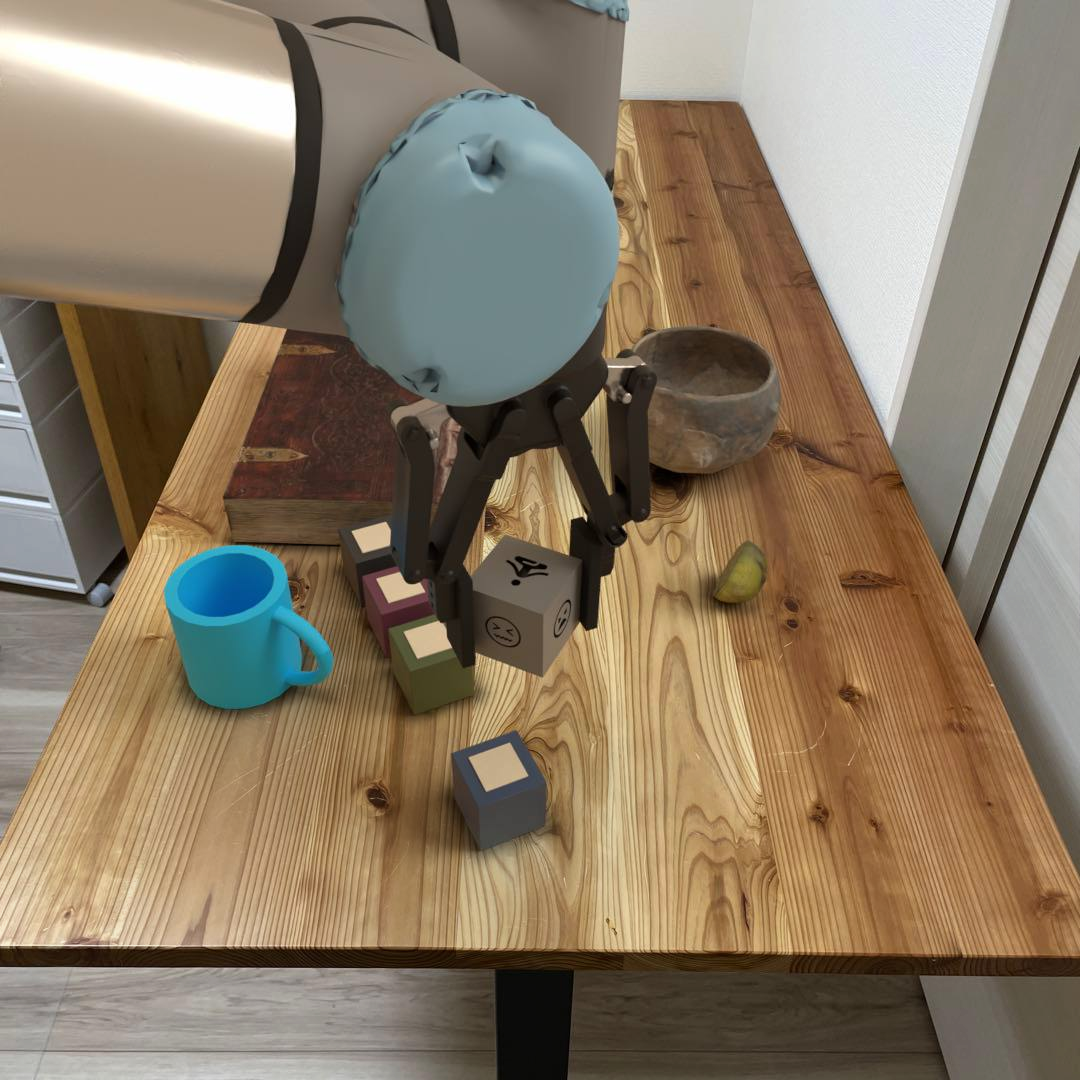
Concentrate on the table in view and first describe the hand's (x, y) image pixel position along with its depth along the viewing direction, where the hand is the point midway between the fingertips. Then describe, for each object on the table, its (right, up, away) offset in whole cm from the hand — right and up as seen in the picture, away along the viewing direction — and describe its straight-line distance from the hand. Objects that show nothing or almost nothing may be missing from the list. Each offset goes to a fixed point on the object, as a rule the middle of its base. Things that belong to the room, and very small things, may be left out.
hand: (522, 632), depth 63 cm
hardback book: (-15, +14, +36) cm, 42 cm away
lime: (+16, +1, +21) cm, 27 cm away
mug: (-19, -4, +14) cm, 24 cm away
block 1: (-12, +2, +22) cm, 25 cm away
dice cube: (0, 0, 0) cm, 0 cm away
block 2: (-9, -1, +18) cm, 20 cm away
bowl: (+15, +13, +36) cm, 41 cm away
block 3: (-7, -5, +14) cm, 16 cm away
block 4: (-2, -12, +6) cm, 13 cm away
